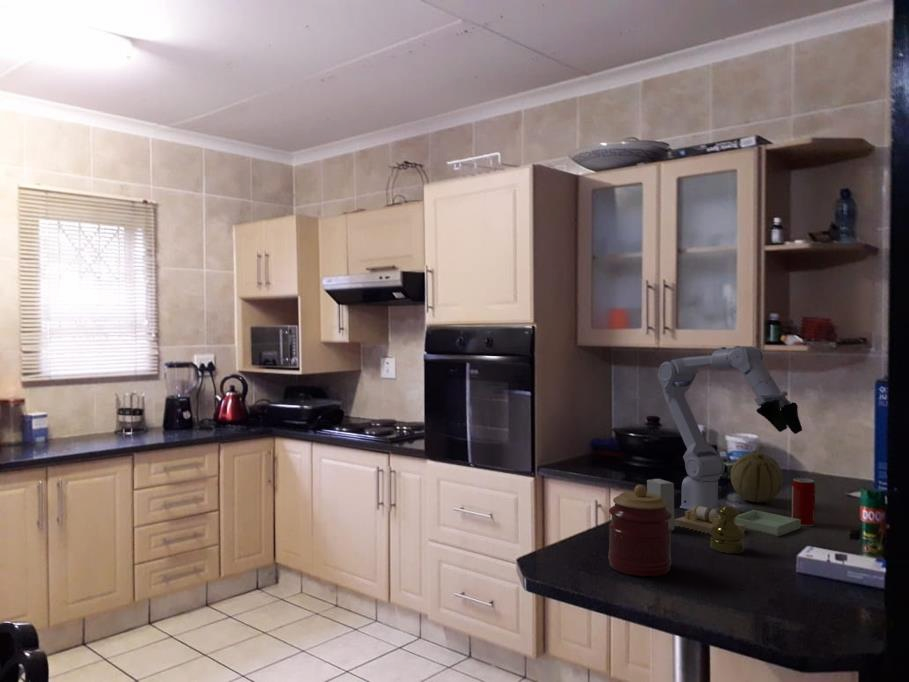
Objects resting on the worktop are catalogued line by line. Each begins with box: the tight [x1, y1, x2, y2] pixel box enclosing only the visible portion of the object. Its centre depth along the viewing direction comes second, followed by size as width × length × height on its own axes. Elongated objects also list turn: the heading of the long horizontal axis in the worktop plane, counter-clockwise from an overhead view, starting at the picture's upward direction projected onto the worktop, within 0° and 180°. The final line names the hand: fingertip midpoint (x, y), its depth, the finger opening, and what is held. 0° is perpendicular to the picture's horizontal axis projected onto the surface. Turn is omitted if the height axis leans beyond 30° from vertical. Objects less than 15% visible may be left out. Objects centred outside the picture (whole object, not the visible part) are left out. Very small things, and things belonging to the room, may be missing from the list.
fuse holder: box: [674, 509, 746, 535], centre depth 179 cm, size 14×10×4 cm
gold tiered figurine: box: [709, 505, 745, 554], centre depth 161 cm, size 7×7×10 cm
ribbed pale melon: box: [730, 452, 784, 503], centre depth 208 cm, size 15×15×15 cm
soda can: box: [791, 477, 816, 527], centre depth 184 cm, size 6×6×12 cm
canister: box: [607, 484, 673, 577], centre depth 148 cm, size 13×13×18 cm
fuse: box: [692, 505, 721, 522], centre depth 179 cm, size 8×4×4 cm, turn 40°
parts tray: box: [735, 509, 801, 537], centre depth 181 cm, size 13×13×2 cm
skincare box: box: [646, 478, 675, 531], centre depth 178 cm, size 6×4×12 cm
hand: (791, 431), depth 173 cm, fingers open, 7 cm apart
